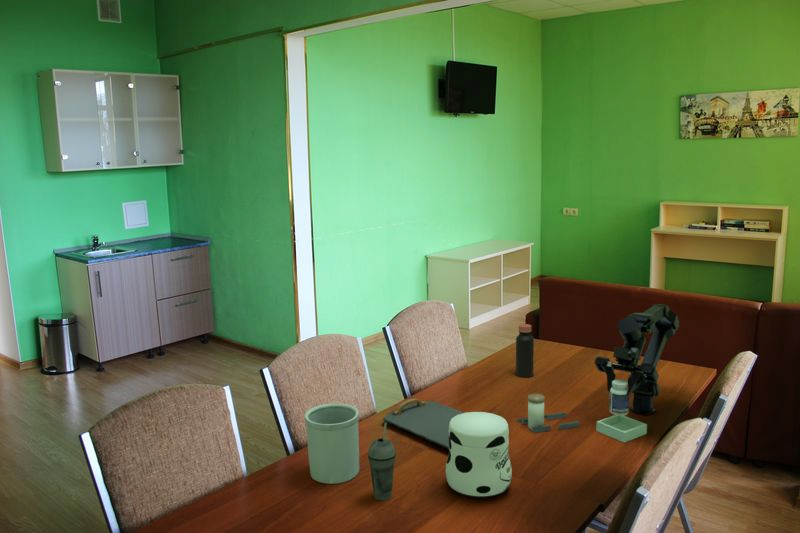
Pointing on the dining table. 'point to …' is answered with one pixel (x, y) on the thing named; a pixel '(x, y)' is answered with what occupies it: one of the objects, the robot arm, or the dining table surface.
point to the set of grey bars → (548, 427)
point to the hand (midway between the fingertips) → (617, 393)
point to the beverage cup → (382, 467)
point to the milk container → (478, 455)
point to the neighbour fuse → (535, 410)
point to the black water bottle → (524, 351)
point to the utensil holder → (333, 442)
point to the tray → (621, 428)
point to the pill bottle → (619, 398)
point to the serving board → (424, 419)
